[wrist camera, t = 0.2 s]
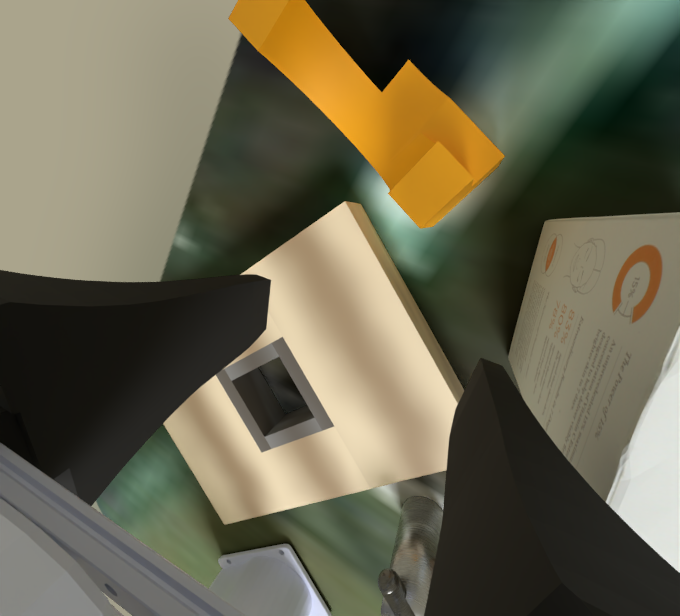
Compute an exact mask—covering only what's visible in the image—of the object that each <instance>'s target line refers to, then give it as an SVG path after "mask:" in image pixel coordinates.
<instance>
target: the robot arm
mask: <svg viewBox="0 0 680 616" xmlns="http://www.w3.org/2000/svg"><path fill="white" fill-rule="evenodd" d="M270 287H271V280H270V279H267V278H265V277H262V276H259V275H256V274H244V275H231V276H221V277H211V278H202V279H191V280H178V281H166V282H103V281H83V280H71V279H61V278H51V277H42V276H35V275H27V274H20V273H15V272H8V271H2V270H0V616H123V615H122V614H121V613H120V612H119V611H118V610H117V609H116V608H115V607H114V606H113V605H111V604H110V603H109V601H108V599H107V597H106V596H105V595H104V594H103V593H105V594H106V595H107V596H108V597H109V598H111V599H112V600H113V601H115V602H116V603H117V604H118V605H120V606H121V607H122V608H123V609H125V610H126V611H127V612H129V613H130V614H131V615H132V616H332V615H331V613H330V611H329V609H328V607H327V606H326V604H325V602H324V601H323V599H322V597H321V596H320V594H319V592H318V591H317V589H316V587H315V586H314V584H313V582H312V581H311V579H310V577H309V576H308V574H307V572H306V571H305V569H304V567H303V566H302V564H301V562H300V560H299V559H298V557H297V555H296V554H295V552H294V550H293V549H292V547H291V546H290V545H289V544H280V545H275V546H270V547H264V548H259V549H254V550H249V551H243V552H238V553H233V554H228V555H222V556H221V557H220V558H219V560H218V562H219V564H220V566H221V567H222V570H221V571H220V572H219V574H218V575H217V577H216V578H215V580H214V581H213V583H212V584H211V585H210V587H209V588H206V587H205V586H204V585H202V584H201V583H199V582H198V581H197V580H195V579H194V578H192V577H191V576H189V575H188V574H187V573H185V572H184V571H182V570H181V569H179V568H178V567H177V566H175V565H174V564H172V563H171V562H169V561H168V560H167V559H165V558H164V557H162V556H161V555H160V554H158V553H157V552H155V551H154V550H152V549H151V548H150V547H148V546H147V545H145V544H144V543H142V542H141V541H140V540H138V539H137V538H135V537H134V536H133V535H131V534H130V533H128V532H127V531H125V530H124V529H123V528H121V527H120V526H118V525H117V524H115V523H114V522H113V521H111V520H110V519H108V518H107V517H106V516H104V515H103V514H101V513H100V512H98V511H97V510H96V509H94V508H93V507H91V506H92V505H93V503H94V502H95V501H96V500H97V498H98V497H99V496H100V495H101V493H102V492H103V491H104V490H105V489H106V487H107V486H108V485H109V484H110V483H111V481H112V480H113V479H114V478H115V476H116V475H117V474H118V473H119V472H120V470H121V469H122V468H123V467H124V466H125V465H126V464H127V462H128V461H129V460H130V459H131V458H132V457H133V456H134V454H135V453H136V452H137V451H138V450H139V449H140V448H141V447H142V445H143V444H144V443H145V442H146V441H147V440H148V439H149V438H150V437H151V436H152V434H153V433H154V432H155V431H156V430H157V429H158V428H159V427H160V426H161V425H162V424H163V423H164V422H165V421H166V420H167V419H168V418H169V417H170V416H171V415H172V414H173V413H174V412H175V411H176V410H177V409H178V408H179V407H180V406H181V405H182V404H183V403H184V402H185V401H186V400H187V399H188V398H189V397H190V396H191V395H192V394H193V393H194V392H195V391H197V390H198V389H199V388H200V387H201V386H202V385H204V384H205V383H206V382H207V381H209V380H210V379H211V378H212V377H214V376H215V375H216V374H217V373H219V372H220V371H221V370H222V369H224V368H225V367H226V366H228V365H229V364H230V363H231V362H233V361H234V360H235V359H236V358H237V357H239V356H240V355H241V354H242V353H244V352H245V351H246V350H247V349H248V348H249V347H250V346H251V345H252V344H253V343H254V342H255V341H256V340H257V339H258V338H259V337H260V336H261V334H262V333H263V332H264V331H265V330H266V326H267V316H268V307H269V297H270ZM102 592H103V593H102ZM424 616H680V573H679V572H678V571H677V570H676V569H675V568H674V567H672V566H671V565H670V564H669V563H668V562H667V561H666V560H665V559H663V558H662V557H661V556H660V555H659V554H658V553H657V552H656V551H655V550H654V549H653V548H652V547H651V546H650V545H648V544H647V543H646V542H645V541H644V540H643V539H642V538H641V537H640V536H639V535H638V534H637V533H636V532H635V531H634V530H633V529H632V528H631V527H630V526H629V525H628V524H627V523H626V522H625V521H624V520H623V519H622V518H621V517H620V516H619V515H618V514H617V513H616V512H615V511H614V510H613V509H612V508H611V507H610V506H609V505H608V504H607V503H606V502H605V501H604V500H603V499H602V498H601V497H600V496H599V495H598V494H597V493H596V492H595V490H594V489H593V488H592V487H591V486H590V485H589V484H588V483H587V482H586V480H585V479H584V478H583V477H582V476H581V475H580V474H579V472H578V471H577V470H576V469H575V468H574V467H573V466H572V464H571V463H570V462H569V461H568V460H567V459H566V457H565V456H564V455H563V454H562V452H561V451H560V450H559V449H558V447H557V446H556V445H555V443H554V442H553V441H552V439H551V438H550V437H549V435H548V434H547V433H546V431H545V430H544V429H543V427H542V426H541V425H540V423H539V422H538V420H537V419H536V417H535V416H534V415H533V413H532V412H531V410H530V409H529V407H528V406H527V404H526V403H525V401H524V399H523V398H522V396H521V395H520V393H519V391H518V390H517V388H516V387H515V385H514V383H513V382H512V380H511V379H510V377H509V375H508V374H507V372H506V371H505V369H504V368H503V366H501V365H498V364H496V363H493V362H490V361H488V360H485V359H482V358H480V360H479V362H478V364H477V366H476V368H475V370H474V372H473V374H472V376H471V378H470V380H469V382H468V384H467V386H466V388H465V390H464V392H463V395H462V397H461V399H460V401H459V403H458V405H457V407H456V409H455V414H454V418H453V422H452V427H451V432H450V436H449V446H448V458H447V471H446V484H445V496H444V509H443V517H442V525H441V531H440V536H439V541H438V547H437V552H436V558H435V563H434V568H433V573H432V578H431V583H430V588H429V593H428V598H427V603H426V608H425V613H424Z"/></svg>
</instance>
